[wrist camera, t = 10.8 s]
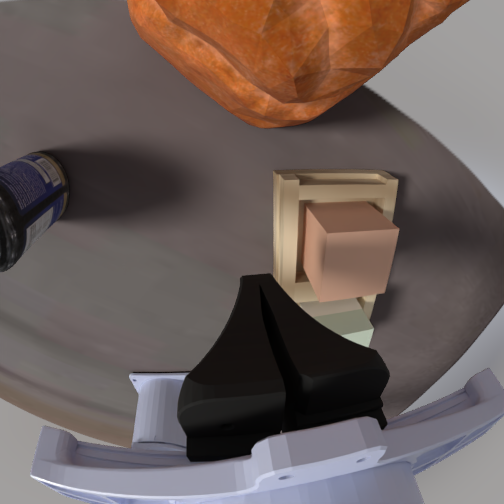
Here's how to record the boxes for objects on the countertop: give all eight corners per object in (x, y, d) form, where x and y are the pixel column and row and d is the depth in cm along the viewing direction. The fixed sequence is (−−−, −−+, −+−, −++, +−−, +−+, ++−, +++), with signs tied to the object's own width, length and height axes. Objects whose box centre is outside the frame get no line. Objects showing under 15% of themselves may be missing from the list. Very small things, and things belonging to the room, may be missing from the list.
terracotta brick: (357, 257, 23) (384, 292, 19) (301, 263, 23) (319, 302, 19) (365, 201, 21) (399, 228, 17) (303, 203, 20) (327, 233, 16)
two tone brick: (351, 291, 25) (374, 328, 21) (343, 330, 28) (361, 367, 23) (298, 298, 25) (313, 340, 20) (295, 338, 27) (308, 378, 23)
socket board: (352, 334, 30) (361, 352, 28) (272, 346, 29) (276, 366, 27) (382, 170, 21) (400, 179, 19) (273, 170, 20) (281, 180, 18)
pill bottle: (11, 158, 17) (-81, 209, 7) (65, 143, 17) (-34, 189, 8) (25, 225, 20) (-47, 300, 10) (79, 218, 20) (6, 303, 11)
